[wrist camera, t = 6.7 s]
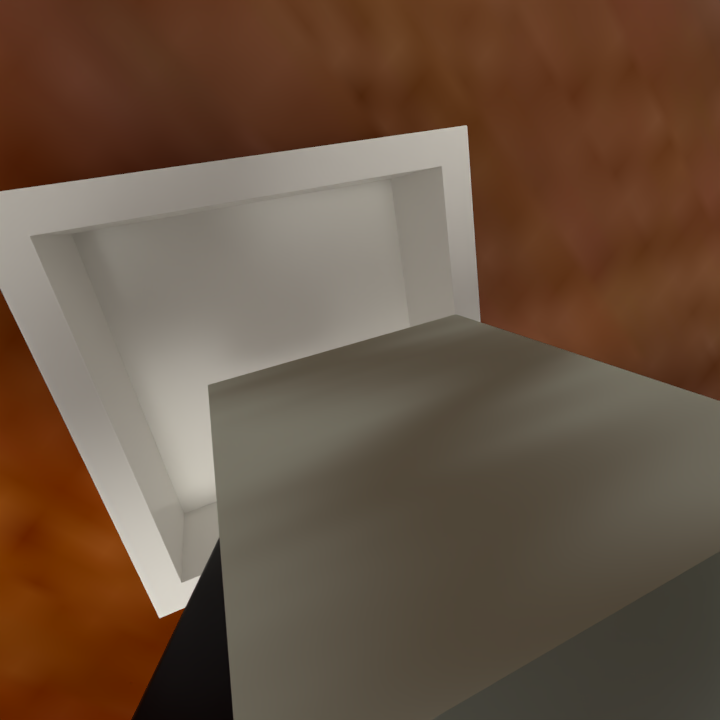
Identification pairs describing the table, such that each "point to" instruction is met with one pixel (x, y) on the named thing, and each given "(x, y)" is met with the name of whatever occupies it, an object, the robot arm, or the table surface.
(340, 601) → the mint block
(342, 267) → the bin
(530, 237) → the table surface
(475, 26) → the table surface
